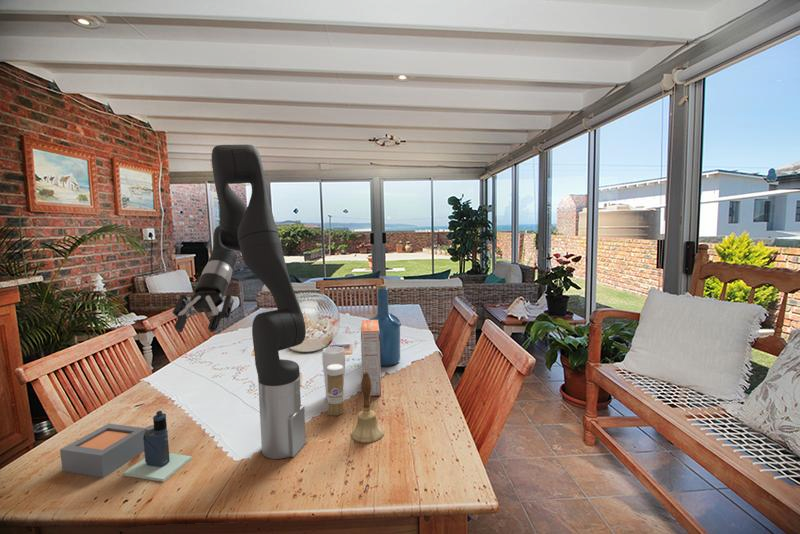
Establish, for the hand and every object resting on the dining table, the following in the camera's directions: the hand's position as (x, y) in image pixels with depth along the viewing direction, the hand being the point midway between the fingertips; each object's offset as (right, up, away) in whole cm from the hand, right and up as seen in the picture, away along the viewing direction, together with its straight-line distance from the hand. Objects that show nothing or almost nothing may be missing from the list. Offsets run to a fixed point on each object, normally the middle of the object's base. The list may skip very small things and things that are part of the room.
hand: (194, 330), depth 97 cm
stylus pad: (0, -28, -13) cm, 31 cm away
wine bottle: (+46, -21, +51) cm, 72 cm away
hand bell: (+44, -26, -1) cm, 51 cm away
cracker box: (+43, -23, +27) cm, 56 cm away
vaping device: (-1, -27, -13) cm, 30 cm away
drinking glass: (+32, -24, +20) cm, 45 cm away
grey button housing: (-14, -27, -10) cm, 33 cm away
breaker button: (-14, -26, -11) cm, 31 cm away
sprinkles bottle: (+34, -25, +11) cm, 44 cm away
